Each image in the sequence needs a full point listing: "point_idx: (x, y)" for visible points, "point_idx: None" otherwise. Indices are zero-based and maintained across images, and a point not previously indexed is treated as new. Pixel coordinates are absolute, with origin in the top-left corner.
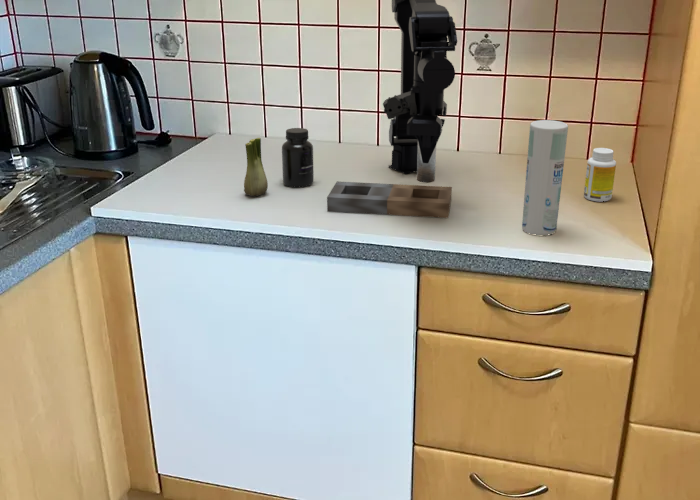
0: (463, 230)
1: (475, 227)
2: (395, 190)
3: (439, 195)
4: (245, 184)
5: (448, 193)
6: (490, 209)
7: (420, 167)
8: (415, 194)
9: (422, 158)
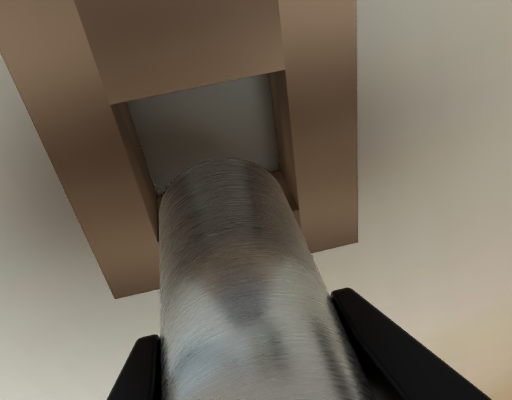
0: (17, 327)
1: (73, 345)
2: None
3: None
4: None
5: None
6: None
7: (164, 271)
8: (277, 73)
9: (117, 381)
